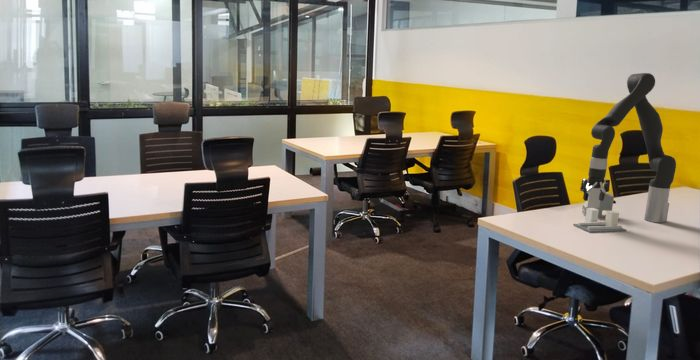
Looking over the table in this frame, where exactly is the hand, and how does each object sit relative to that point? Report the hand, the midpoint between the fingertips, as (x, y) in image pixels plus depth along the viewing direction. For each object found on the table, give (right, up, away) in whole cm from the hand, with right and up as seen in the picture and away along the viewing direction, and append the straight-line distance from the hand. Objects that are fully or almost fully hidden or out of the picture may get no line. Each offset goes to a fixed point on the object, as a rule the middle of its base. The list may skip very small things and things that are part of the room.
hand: (593, 200), depth 291 cm
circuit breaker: (+10, -8, +18) cm, 22 cm away
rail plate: (0, -13, -7) cm, 15 cm away
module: (0, -11, +2) cm, 11 cm away
